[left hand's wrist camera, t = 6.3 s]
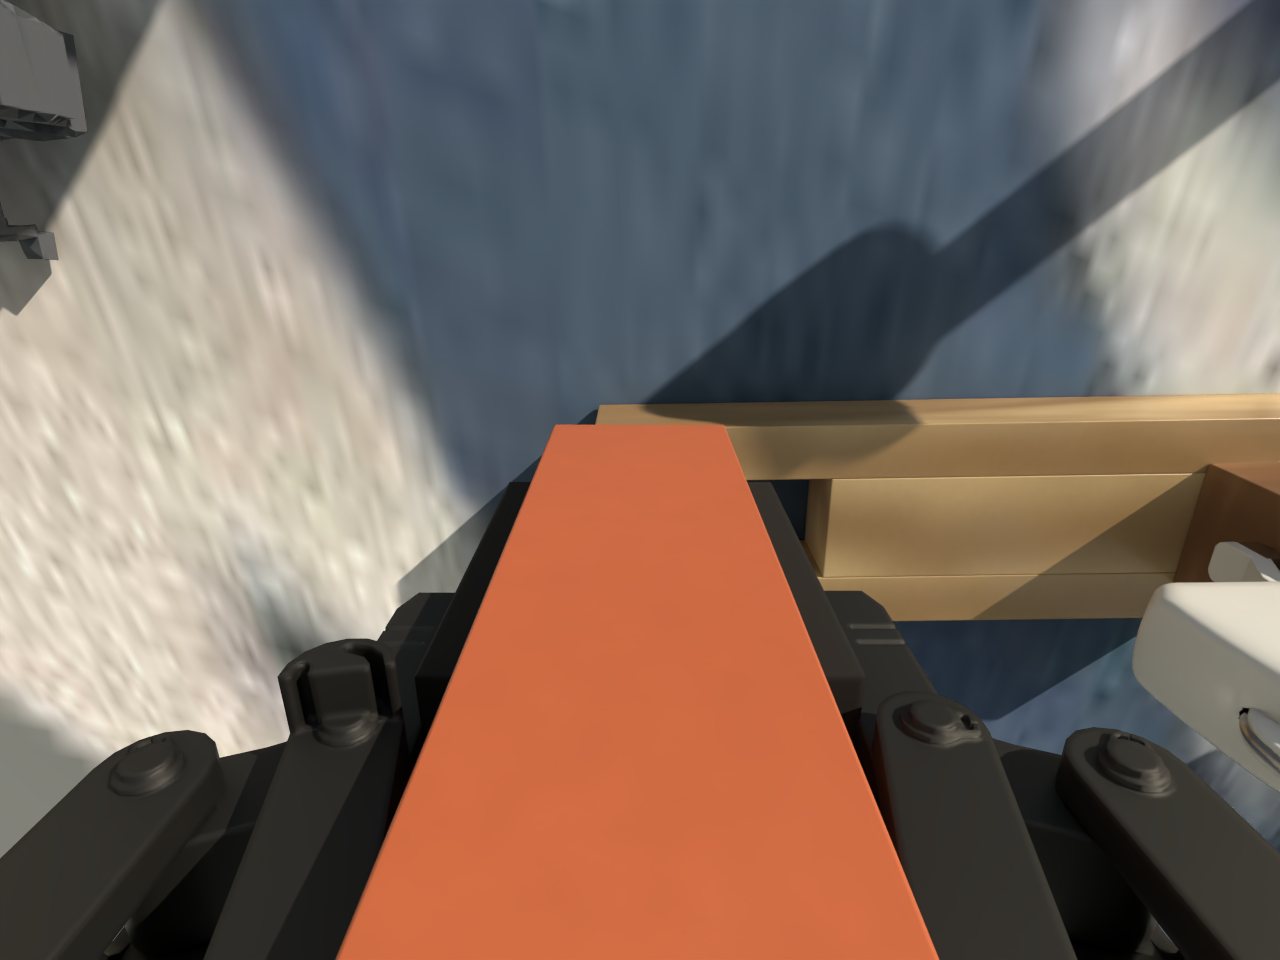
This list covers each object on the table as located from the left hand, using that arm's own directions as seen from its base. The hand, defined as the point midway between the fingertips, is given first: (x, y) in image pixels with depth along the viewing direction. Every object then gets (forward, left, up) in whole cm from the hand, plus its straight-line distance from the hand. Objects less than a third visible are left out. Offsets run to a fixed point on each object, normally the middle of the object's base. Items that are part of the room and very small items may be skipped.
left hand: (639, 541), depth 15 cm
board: (+7, +15, -19) cm, 25 cm away
